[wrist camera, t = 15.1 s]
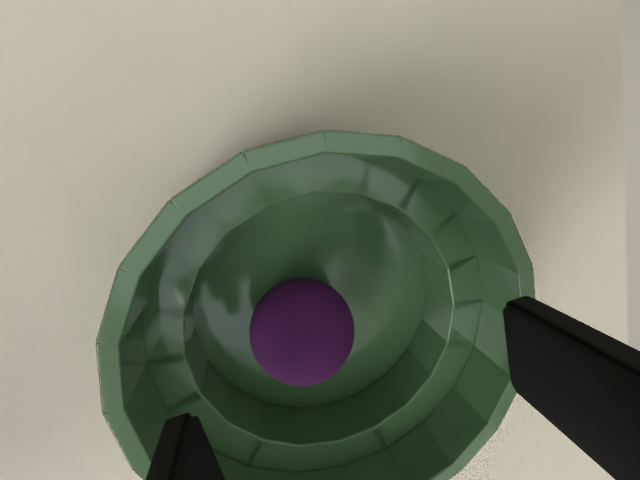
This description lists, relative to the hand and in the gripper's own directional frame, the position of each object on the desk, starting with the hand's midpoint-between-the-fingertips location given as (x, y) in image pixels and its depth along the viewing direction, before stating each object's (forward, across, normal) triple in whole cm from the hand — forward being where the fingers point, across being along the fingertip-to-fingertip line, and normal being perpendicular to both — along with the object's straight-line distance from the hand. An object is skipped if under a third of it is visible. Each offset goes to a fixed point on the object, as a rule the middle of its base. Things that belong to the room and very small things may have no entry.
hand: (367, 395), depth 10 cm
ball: (+4, +1, 0) cm, 4 cm away
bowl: (+6, 0, 0) cm, 6 cm away
